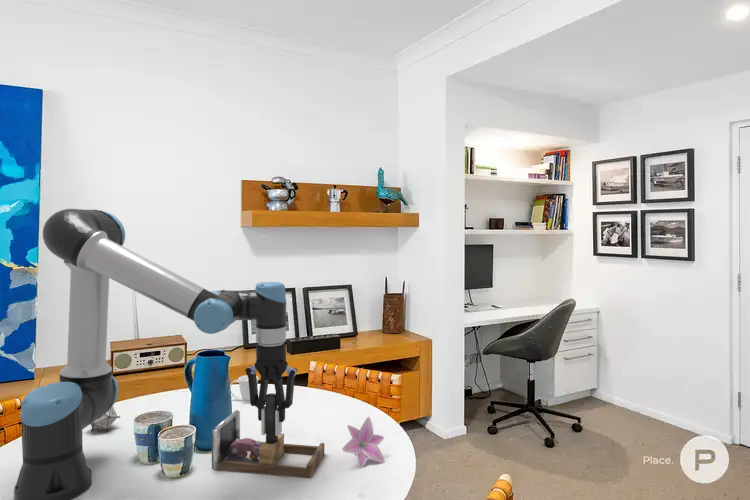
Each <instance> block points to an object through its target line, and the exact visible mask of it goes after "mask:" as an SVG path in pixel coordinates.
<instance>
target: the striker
mask: <svg viewBox="0 0 750 500" xmlns="http://www.w3.org/2000/svg"><path fill="white" fill-rule="evenodd" d="M265 403H266V404H265V406H266V434H265V441H264V442H265V443H264V444H263V445H262V446H261V447H260V448H259V457H258V463H259V464H271V465H276V463H277V462H278V461H279V459H280V458H282V457H281V456H283V454H285V453H284V444H285V433H280V434H279V436H275V410H276V409H277V408H278V404H277V398H276V393H274V392H273V393H267V395H266V402H265Z"/></svg>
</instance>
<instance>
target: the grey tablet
mask: <svg viewBox="0 0 750 500" xmlns="http://www.w3.org/2000/svg"><path fill="white" fill-rule="evenodd" d="M210 438H211V469H213V471H219V470H218V462H219V461H220V460H223V461H225V460H226V459H227V458H228V457H229V456H230V455H231V454H232V453H231V451H230V449H229V447H230V445H231V444H232V442H234V441H235V440H236V439H237V438H238V439H239V440H240V439H241V412H240V411H239V410H238V409H236V410H234V411H233V412H232V413H230V415H228V416H227V417H226V418H224V419H223V420H222V421H221V422H220V423H218V425H216V426H215V427H214V428H213V429H212V432H211V437H210ZM230 453H231V454H230ZM229 454H230V455H229ZM228 455H229V456H228ZM226 457H227V458H226ZM225 458H226V459H225ZM224 459H225V460H224Z"/></svg>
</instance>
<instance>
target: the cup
mask: <svg viewBox="0 0 750 500" xmlns="http://www.w3.org/2000/svg"><path fill="white" fill-rule="evenodd" d="M256 377H257V385H258V383H259V376H258V375H256ZM233 383H238V384H239V390H240V394H241V398H239V397H237V396H236V395H235V394H234V393H233V391H232V390H231V394H232V395H231V394H230V395H231V396H232V397H233V398H235V399H236V400H238V401H240V402H242V403H246V404H248V403H250V392H249V381H248V376H247V374H246V375H242V376H239V377H238V379H235V380H232V381H231V383H230V385H231V387H232V386H233ZM250 404H251V403H250Z"/></svg>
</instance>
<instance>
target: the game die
mask: <svg viewBox="0 0 750 500" xmlns="http://www.w3.org/2000/svg"><path fill="white" fill-rule="evenodd" d="M120 418H121V416H120V415H119V416H118V414H117V413H116V410H115V409H114V405H113V406H112V407H111V408H110V410H109V411H108V412H107V413H106V414H104V415H103V416H102V417H100V418H98V419H97V420H95V421H94V422H92V423H91V424H90V426H91V429H90V431H91V432H92V431H94V430H104V431H106V432H107V433H108V432H109V430H108V429H109V428H110V427H111V426H112V424H113V423H114V422H115V421H116V420H117V419H120Z"/></svg>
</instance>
